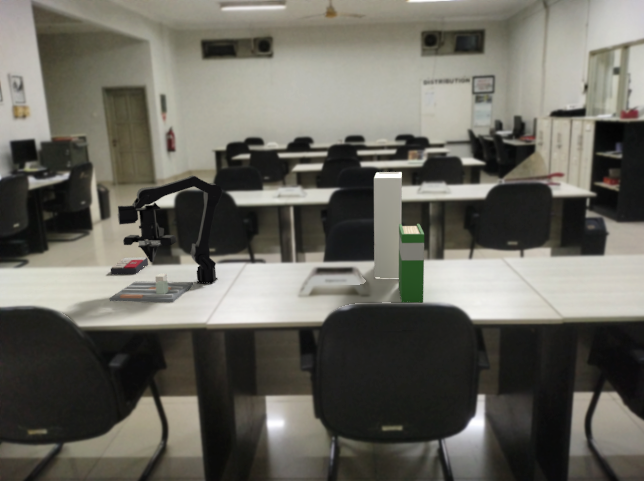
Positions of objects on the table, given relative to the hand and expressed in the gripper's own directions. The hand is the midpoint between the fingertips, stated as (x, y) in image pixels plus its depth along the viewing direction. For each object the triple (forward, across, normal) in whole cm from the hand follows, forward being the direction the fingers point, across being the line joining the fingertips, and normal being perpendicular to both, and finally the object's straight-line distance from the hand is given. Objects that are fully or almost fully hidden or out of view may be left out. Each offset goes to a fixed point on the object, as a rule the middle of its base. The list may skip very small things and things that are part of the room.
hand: (152, 262), depth 201 cm
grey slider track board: (+11, -1, +4) cm, 12 cm away
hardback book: (+11, -97, +1) cm, 98 cm away
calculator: (+12, +24, -27) cm, 38 cm away
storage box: (+11, -89, -27) cm, 94 cm away
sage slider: (+9, -7, +9) cm, 15 cm away
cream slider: (+9, -3, 0) cm, 10 cm away
